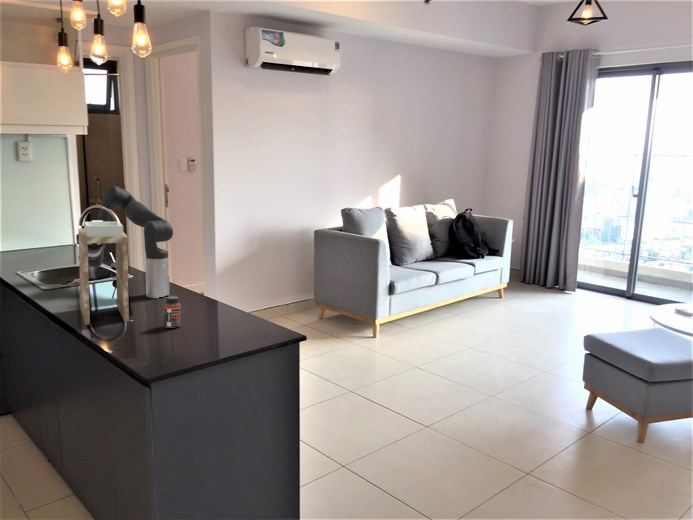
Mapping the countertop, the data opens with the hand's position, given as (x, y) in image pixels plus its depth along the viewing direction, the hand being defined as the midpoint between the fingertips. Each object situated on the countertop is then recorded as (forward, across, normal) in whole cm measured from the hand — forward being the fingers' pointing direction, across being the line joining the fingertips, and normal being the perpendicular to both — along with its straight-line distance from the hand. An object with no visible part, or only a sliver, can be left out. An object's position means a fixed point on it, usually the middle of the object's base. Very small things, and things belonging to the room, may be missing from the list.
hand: (95, 232), depth 245 cm
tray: (+24, 0, +9) cm, 26 cm away
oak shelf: (+13, 0, +39) cm, 41 cm away
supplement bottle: (+33, +21, +51) cm, 64 cm away
